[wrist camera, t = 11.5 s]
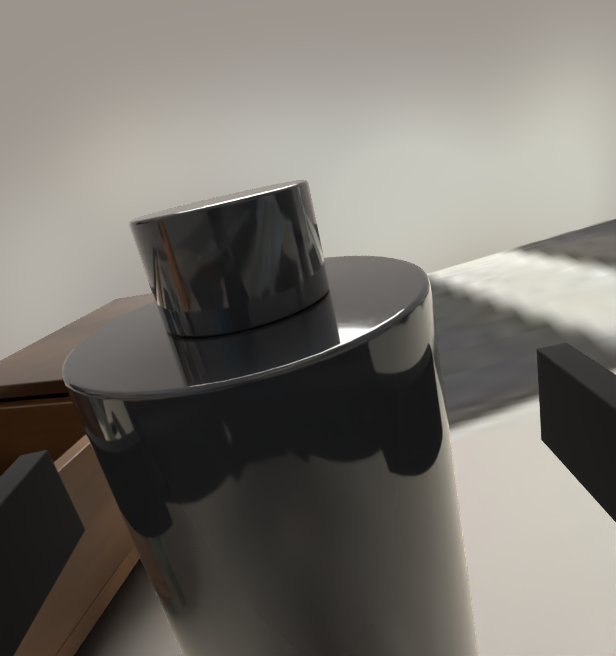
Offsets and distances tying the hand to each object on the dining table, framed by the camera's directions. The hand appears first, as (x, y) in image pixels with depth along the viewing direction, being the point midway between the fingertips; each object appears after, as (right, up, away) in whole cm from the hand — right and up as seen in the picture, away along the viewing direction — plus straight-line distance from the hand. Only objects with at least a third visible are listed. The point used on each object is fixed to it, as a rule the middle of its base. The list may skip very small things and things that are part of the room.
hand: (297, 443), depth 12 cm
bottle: (+2, -9, +1) cm, 10 cm away
